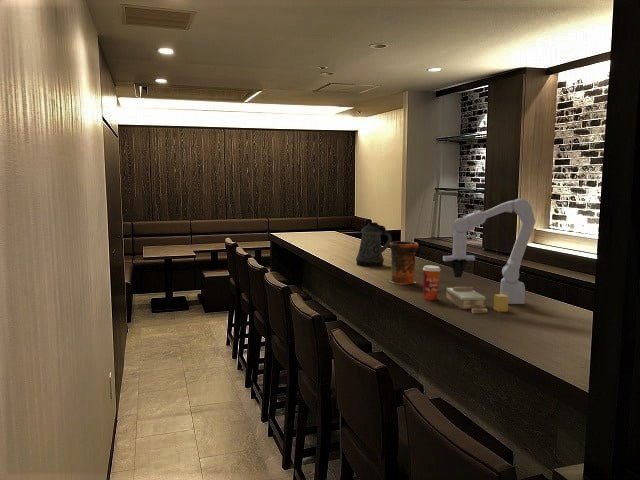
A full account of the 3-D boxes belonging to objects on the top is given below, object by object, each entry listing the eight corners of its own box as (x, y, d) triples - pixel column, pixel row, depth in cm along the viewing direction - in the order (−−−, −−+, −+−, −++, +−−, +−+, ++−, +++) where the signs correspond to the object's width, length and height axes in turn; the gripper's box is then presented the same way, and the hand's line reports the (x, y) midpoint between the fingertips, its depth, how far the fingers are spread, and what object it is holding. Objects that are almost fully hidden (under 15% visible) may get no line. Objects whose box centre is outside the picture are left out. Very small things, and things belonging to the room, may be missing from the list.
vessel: (404, 286, 253) (405, 244, 251) (382, 281, 264) (383, 242, 262) (423, 282, 262) (424, 242, 261) (401, 278, 273) (402, 240, 271)
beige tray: (468, 298, 230) (468, 290, 230) (492, 313, 206) (492, 304, 206) (446, 298, 229) (446, 290, 229) (467, 313, 205) (467, 304, 205)
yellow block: (502, 308, 213) (503, 294, 213) (507, 311, 209) (508, 296, 209) (493, 308, 213) (494, 294, 212) (497, 311, 209) (498, 296, 208)
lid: (468, 290, 230) (469, 284, 230) (485, 299, 212) (486, 293, 212) (446, 290, 229) (446, 284, 229) (461, 299, 211) (462, 293, 211)
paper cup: (426, 301, 224) (427, 268, 222) (418, 296, 231) (419, 265, 230) (442, 300, 226) (444, 268, 224) (434, 296, 233) (435, 265, 232)
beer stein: (351, 263, 318) (352, 221, 315) (378, 261, 326) (380, 221, 323) (364, 267, 303) (366, 224, 300) (393, 265, 311) (394, 223, 308)
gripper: (449, 247, 222) (447, 279, 223) (479, 247, 226) (477, 278, 227) (441, 245, 229) (439, 276, 230) (470, 244, 232) (469, 275, 234)
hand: (457, 277), depth 229 cm, fingers closed
